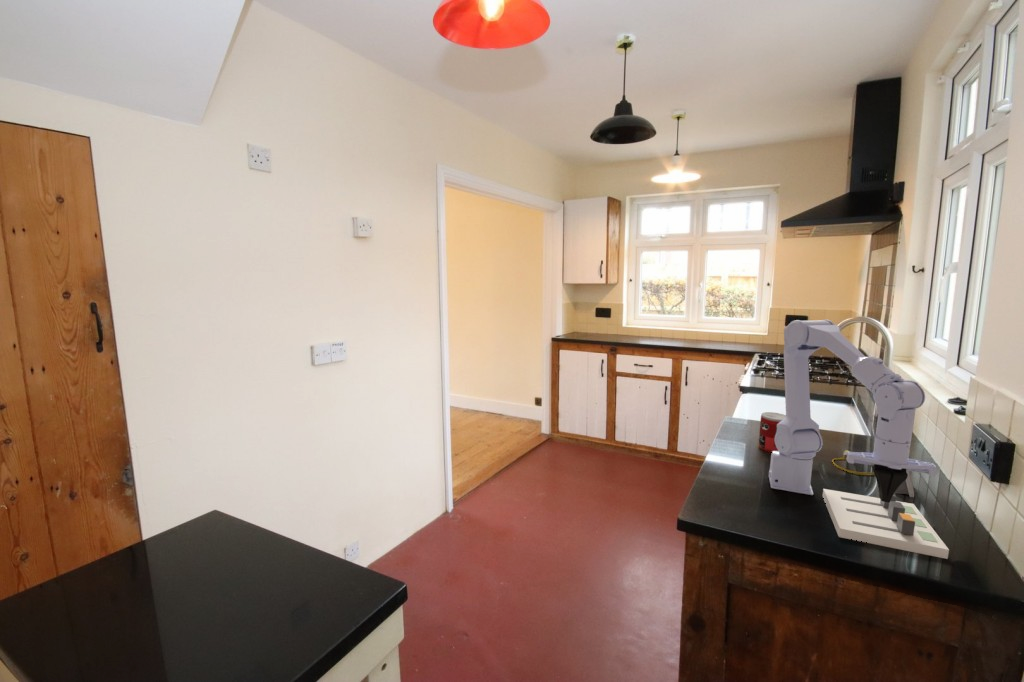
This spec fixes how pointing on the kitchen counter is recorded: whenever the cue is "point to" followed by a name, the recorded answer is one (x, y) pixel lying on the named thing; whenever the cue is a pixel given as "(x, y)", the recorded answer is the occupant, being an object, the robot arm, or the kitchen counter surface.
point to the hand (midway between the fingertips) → (884, 499)
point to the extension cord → (849, 470)
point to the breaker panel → (881, 523)
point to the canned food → (769, 430)
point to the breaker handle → (905, 524)
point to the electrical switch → (906, 486)
